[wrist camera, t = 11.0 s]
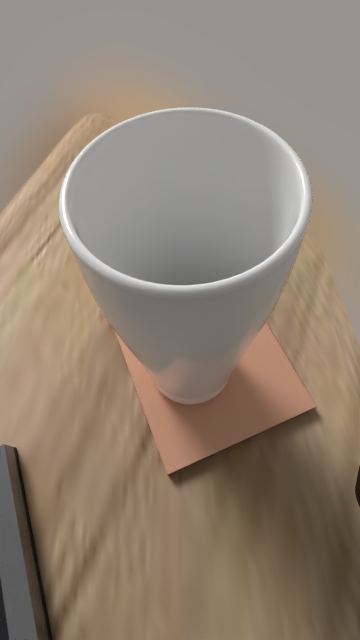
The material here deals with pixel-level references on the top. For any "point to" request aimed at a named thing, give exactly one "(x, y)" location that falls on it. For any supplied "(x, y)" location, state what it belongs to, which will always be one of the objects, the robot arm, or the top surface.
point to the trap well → (18, 560)
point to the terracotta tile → (223, 405)
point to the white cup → (186, 238)
